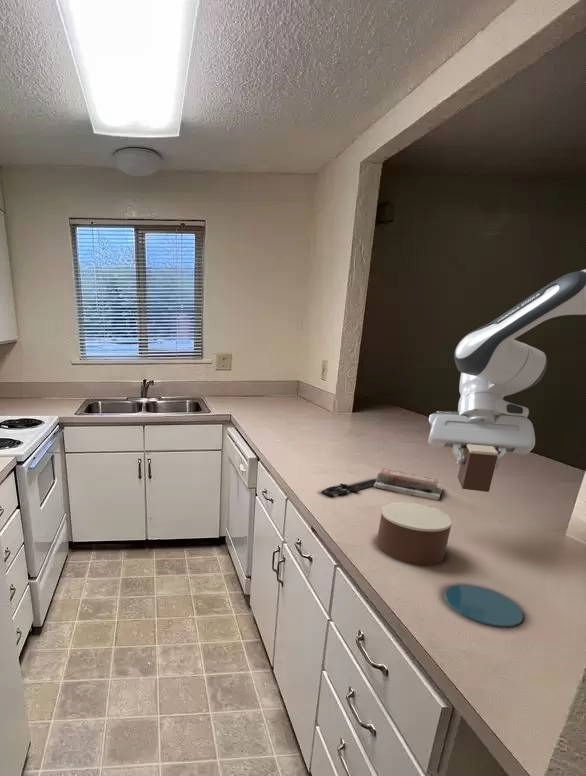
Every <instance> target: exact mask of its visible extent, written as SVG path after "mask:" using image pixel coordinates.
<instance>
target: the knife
mask: <svg viewBox="0 0 586 776" xmlns="http://www.w3.org/2000/svg"><path fill="white" fill-rule="evenodd" d="M376 480H377V478H374V479H369V480H366V481H362V482H358V483H354V484H350V485H348V484H346V483H340V484H339V485H336V486H335V485H333V486H329V487H327V488H325V489H323V490H321V491H320V493H321V494H322V495H324V496H326V497H328V498H334V495H338V497H343V496H346V495H348V492H349V493H354V494H357V493H358V490H359V491H360V490H363V489H366V488H369V487H370V488H371V487H374V484H375V482H376ZM340 488H341V489H340ZM332 491H333V492H332Z"/></svg>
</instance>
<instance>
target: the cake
mask: <svg viewBox="0 0 586 776" xmlns="http://www.w3.org/2000/svg"><path fill="white" fill-rule="evenodd" d="M452 524H453V519H452V518H451V517H450V515H449V514H447V513H446V512H444V511H442V510H440V509H438V508H435V507H432V506H429V505H426V504H421V503H417V502H408V501H407V502H405V501H400V502H399V501H397V502H391V503H387V504H385V505H383V506H382V508H381V514H380V519H379V526H378V531H377V539H376V546H377V548H378V549H379V550H380V551H381V552H382V553H383V554H385V555H386V556H388V557H391V558H392V559H394V560H397V561H401V562H404V563H408V564H412V565H413V564H415V565H422V566H423V565H425V566H426V565H434V564H437V563H438V564H439V563H441V562H442V561H443V560H444V558H445V554H446V551H447V546H448V541H449V536H450V532H451V529H452Z"/></svg>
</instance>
